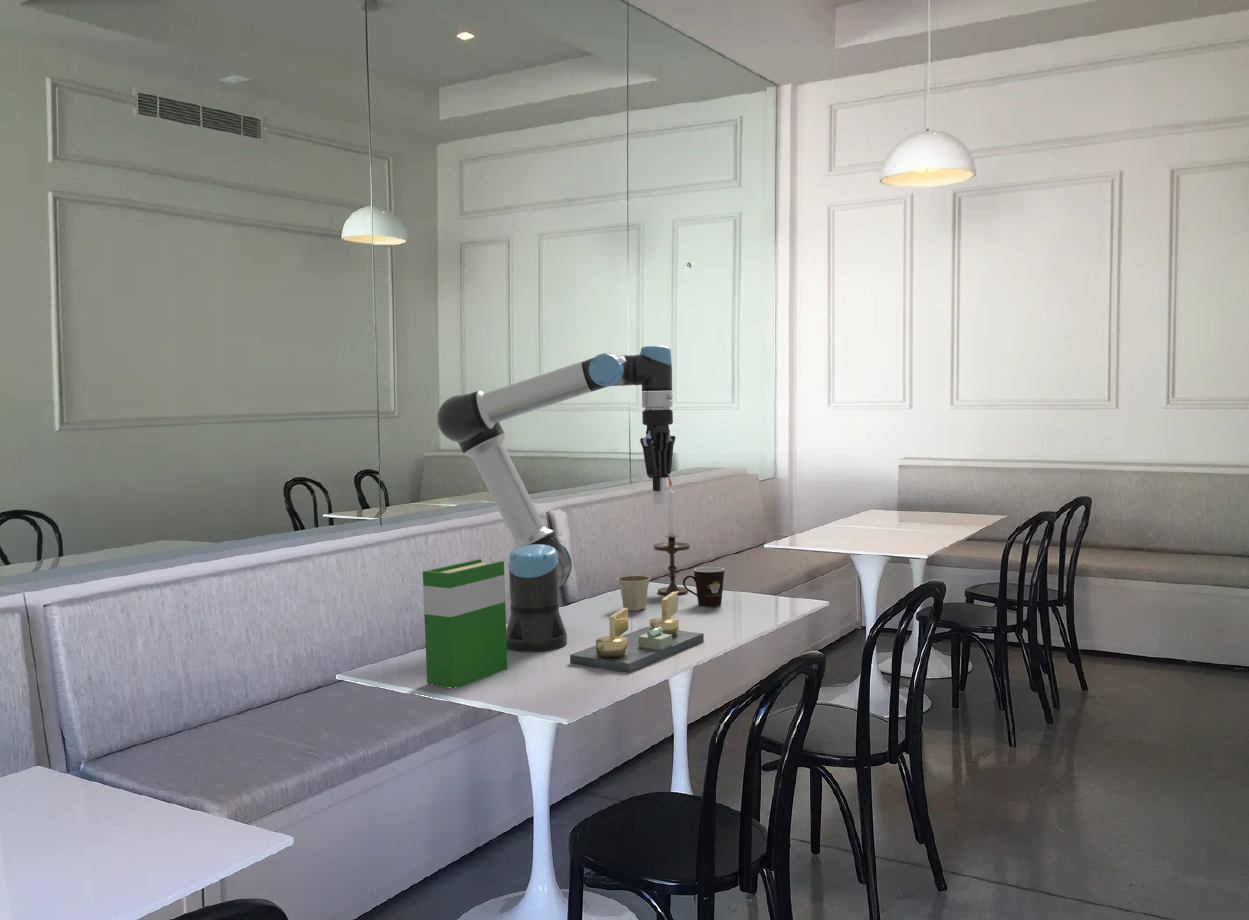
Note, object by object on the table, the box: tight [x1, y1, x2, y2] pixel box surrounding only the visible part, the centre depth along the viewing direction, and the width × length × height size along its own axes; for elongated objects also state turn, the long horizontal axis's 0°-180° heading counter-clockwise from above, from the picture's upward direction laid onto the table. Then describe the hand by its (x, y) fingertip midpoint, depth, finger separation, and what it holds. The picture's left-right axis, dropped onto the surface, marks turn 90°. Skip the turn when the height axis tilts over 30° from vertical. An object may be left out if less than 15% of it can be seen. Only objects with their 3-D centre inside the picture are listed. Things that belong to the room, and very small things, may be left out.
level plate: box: [569, 626, 705, 674], centre depth 244 cm, size 32×16×6 cm, turn 146°
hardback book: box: [422, 558, 508, 689], centre depth 227 cm, size 18×7×24 cm, turn 147°
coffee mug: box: [682, 566, 725, 608], centre depth 297 cm, size 12×9×10 cm
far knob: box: [648, 592, 680, 636], centre depth 257 cm, size 14×7×8 cm, turn 162°
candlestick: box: [653, 476, 691, 596], centre depth 315 cm, size 11×11×35 cm
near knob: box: [595, 607, 629, 657], centre depth 239 cm, size 14×7×8 cm, turn 162°
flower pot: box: [616, 575, 651, 612], centre depth 294 cm, size 9×9×9 cm
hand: (659, 503), depth 262 cm, fingers closed
